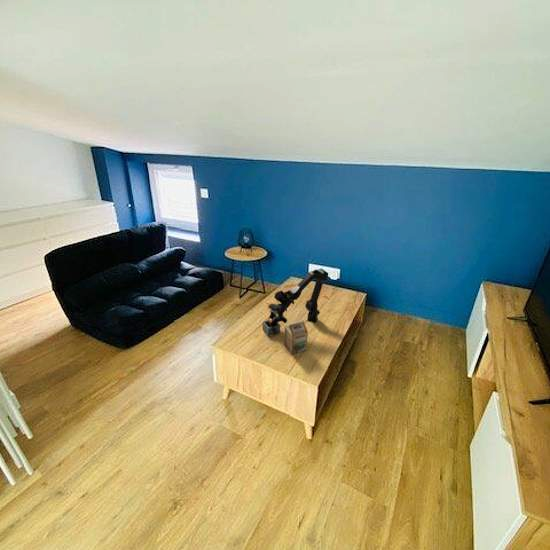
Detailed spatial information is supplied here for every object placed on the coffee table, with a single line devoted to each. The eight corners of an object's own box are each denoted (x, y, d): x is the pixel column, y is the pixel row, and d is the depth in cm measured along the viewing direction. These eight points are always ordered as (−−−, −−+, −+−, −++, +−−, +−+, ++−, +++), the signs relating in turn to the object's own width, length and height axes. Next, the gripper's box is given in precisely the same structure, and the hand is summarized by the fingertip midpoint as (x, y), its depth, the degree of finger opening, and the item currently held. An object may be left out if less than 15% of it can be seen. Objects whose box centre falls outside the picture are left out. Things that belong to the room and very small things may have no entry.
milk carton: (291, 354, 180) (292, 329, 172) (284, 344, 189) (284, 319, 181) (306, 350, 184) (308, 325, 176) (298, 341, 193) (300, 316, 185)
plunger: (273, 326, 206) (273, 315, 202) (277, 331, 201) (277, 320, 197) (264, 329, 203) (264, 318, 200) (269, 334, 198) (269, 323, 194)
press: (274, 326, 208) (274, 318, 205) (281, 335, 199) (281, 326, 196) (262, 329, 204) (262, 321, 201) (269, 338, 195) (269, 330, 192)
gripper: (270, 293, 202) (256, 311, 202) (283, 306, 187) (267, 325, 187) (280, 301, 208) (266, 318, 208) (293, 314, 193) (278, 332, 193)
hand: (269, 323), depth 199 cm, fingers closed on plunger, 4 cm apart
